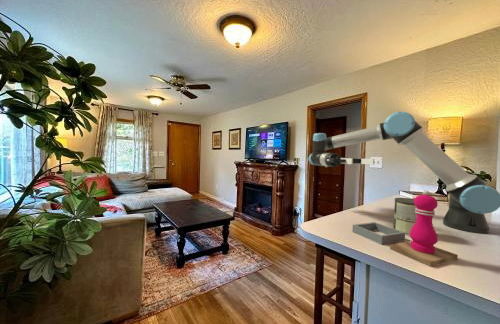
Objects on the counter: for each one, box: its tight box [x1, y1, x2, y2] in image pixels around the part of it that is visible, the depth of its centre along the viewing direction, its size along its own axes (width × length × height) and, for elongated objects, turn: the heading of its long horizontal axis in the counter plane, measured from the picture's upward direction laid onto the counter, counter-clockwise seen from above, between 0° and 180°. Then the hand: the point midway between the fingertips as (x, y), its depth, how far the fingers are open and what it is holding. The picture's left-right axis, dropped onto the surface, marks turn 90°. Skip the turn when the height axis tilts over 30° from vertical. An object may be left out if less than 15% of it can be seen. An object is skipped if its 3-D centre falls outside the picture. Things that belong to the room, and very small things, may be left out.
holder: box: [351, 221, 406, 245], centre depth 83 cm, size 13×13×3 cm
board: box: [389, 240, 459, 268], centre depth 69 cm, size 14×12×2 cm
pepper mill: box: [409, 189, 439, 254], centre depth 68 cm, size 7×7×20 cm
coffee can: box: [392, 197, 417, 237], centre depth 88 cm, size 10×10×14 cm
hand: (363, 161), depth 95 cm, fingers open, 13 cm apart
